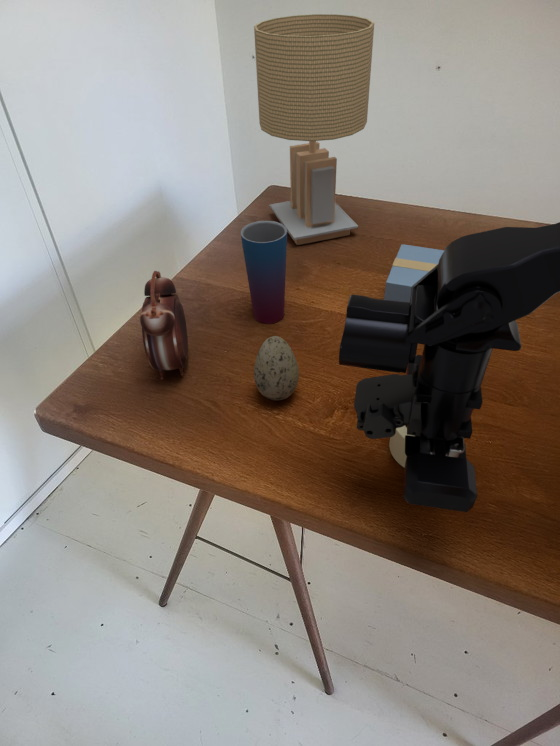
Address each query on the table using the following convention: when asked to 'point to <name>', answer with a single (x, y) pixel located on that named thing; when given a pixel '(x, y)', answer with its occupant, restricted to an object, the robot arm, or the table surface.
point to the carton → (409, 270)
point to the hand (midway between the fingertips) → (424, 474)
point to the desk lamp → (313, 108)
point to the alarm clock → (163, 325)
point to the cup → (266, 268)
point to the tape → (399, 445)
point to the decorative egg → (276, 369)
